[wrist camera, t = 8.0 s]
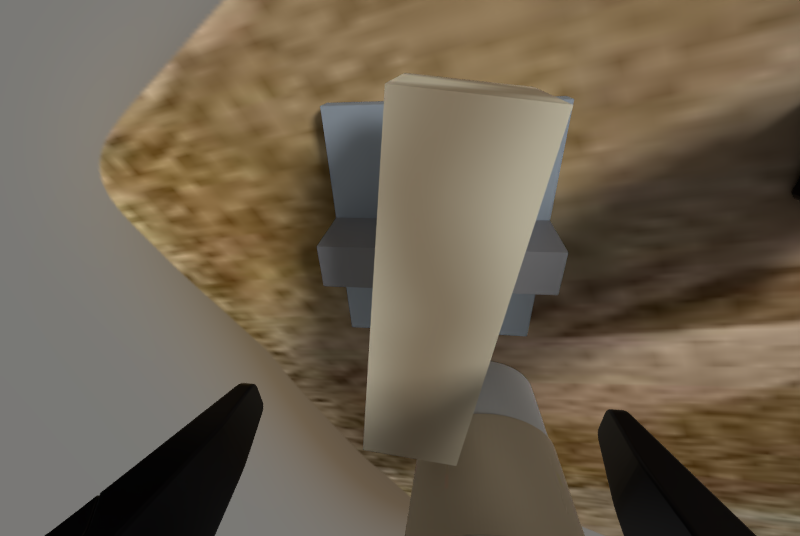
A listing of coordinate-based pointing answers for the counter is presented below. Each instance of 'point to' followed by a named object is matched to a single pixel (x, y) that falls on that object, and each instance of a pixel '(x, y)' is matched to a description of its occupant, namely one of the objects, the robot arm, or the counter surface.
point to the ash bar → (449, 249)
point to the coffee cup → (496, 472)
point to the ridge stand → (357, 218)
